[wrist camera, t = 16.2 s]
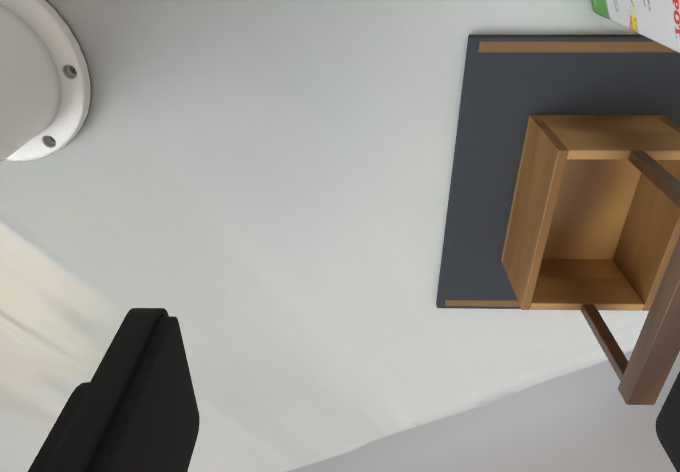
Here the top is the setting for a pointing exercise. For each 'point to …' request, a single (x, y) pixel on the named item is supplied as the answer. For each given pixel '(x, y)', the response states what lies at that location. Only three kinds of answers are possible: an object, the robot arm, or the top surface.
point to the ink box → (645, 18)
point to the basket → (602, 233)
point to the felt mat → (510, 129)
